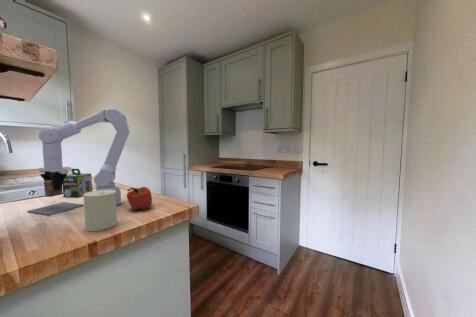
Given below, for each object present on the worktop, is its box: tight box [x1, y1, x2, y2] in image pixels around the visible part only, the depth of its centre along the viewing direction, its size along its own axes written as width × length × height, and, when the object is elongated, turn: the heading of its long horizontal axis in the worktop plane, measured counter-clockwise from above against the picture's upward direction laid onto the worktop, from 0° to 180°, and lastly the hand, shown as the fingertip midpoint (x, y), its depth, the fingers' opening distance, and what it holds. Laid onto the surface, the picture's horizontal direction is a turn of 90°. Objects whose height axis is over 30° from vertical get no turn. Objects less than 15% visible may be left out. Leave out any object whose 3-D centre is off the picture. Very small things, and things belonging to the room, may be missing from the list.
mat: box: [26, 201, 84, 217], centre depth 84 cm, size 13×13×1 cm
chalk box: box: [62, 168, 94, 198], centre depth 106 cm, size 9×9×15 cm
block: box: [43, 180, 63, 198], centre depth 82 cm, size 3×4×6 cm, turn 164°
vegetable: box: [126, 186, 153, 211], centre depth 84 cm, size 11×10×10 cm
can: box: [82, 190, 118, 232], centre depth 67 cm, size 9×9×12 cm
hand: (54, 189), depth 83 cm, fingers closed on block, 3 cm apart
